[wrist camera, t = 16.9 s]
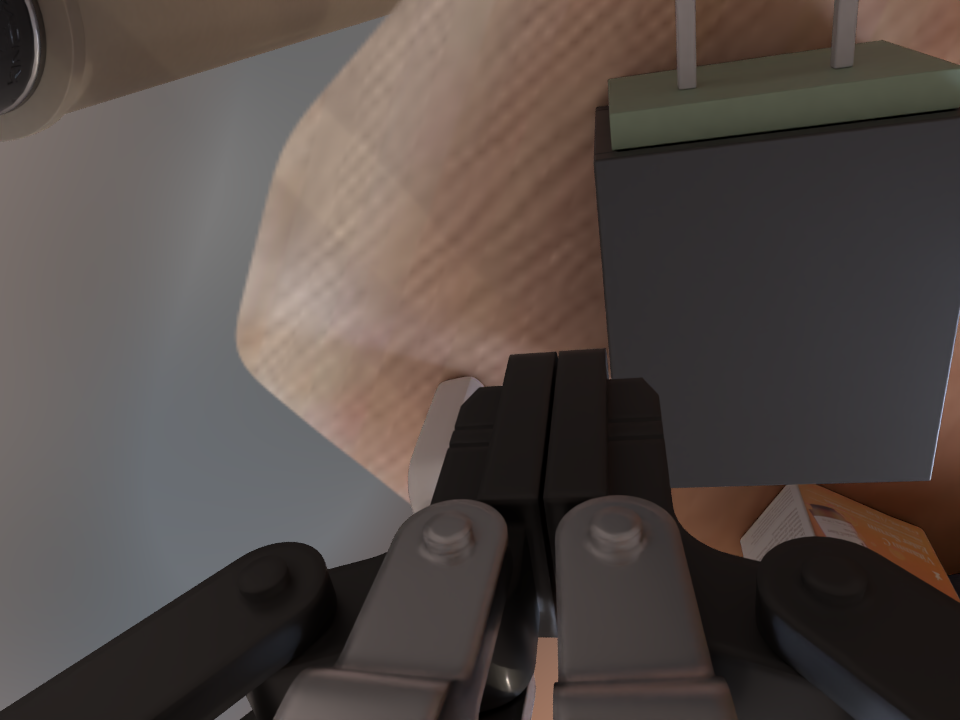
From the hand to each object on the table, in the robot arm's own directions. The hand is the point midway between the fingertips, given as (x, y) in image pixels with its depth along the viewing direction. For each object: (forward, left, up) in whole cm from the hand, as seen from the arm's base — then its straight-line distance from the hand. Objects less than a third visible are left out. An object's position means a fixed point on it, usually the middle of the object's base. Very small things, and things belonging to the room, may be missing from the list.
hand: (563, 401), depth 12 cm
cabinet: (+8, -4, -23) cm, 25 cm away
